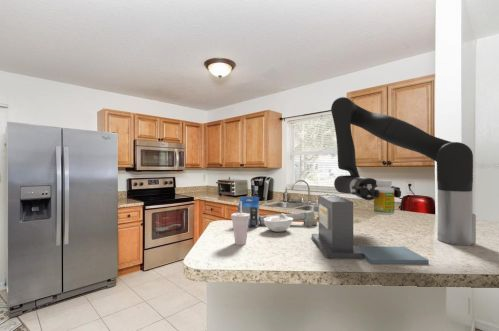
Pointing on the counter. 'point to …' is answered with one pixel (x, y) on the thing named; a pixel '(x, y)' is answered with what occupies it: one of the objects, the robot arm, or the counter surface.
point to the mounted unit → (336, 228)
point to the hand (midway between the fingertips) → (388, 194)
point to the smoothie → (240, 226)
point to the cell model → (278, 222)
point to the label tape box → (250, 210)
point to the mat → (391, 255)
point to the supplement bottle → (384, 198)
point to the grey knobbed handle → (296, 217)
